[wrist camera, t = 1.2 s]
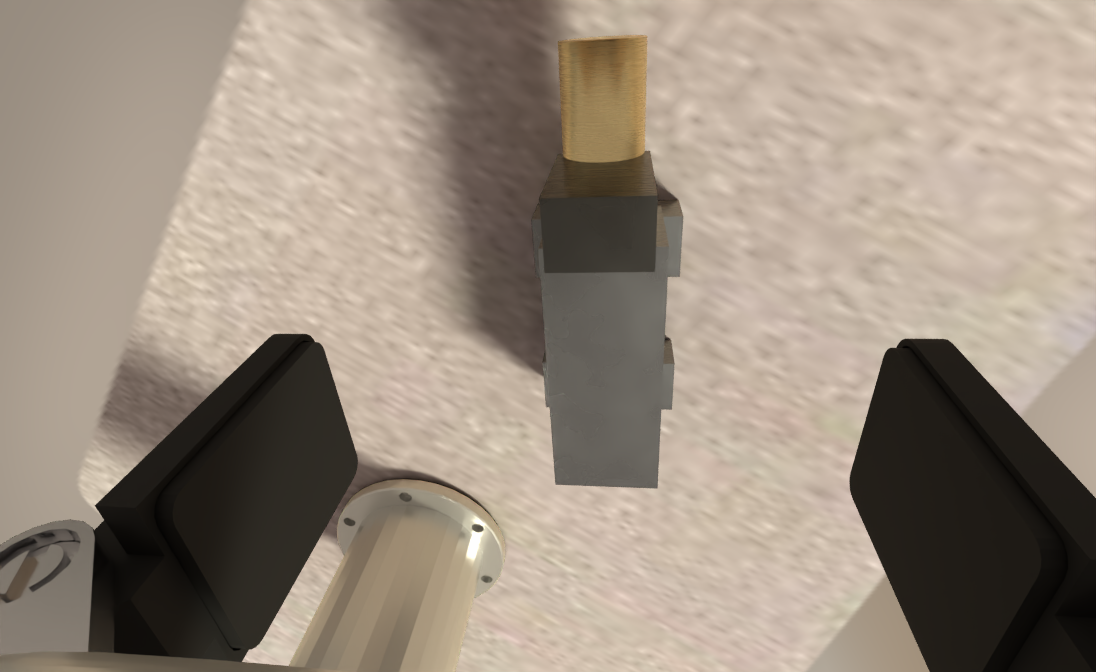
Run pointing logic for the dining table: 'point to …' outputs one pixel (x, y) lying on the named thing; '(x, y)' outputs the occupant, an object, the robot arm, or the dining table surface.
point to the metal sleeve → (609, 363)
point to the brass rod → (601, 162)
